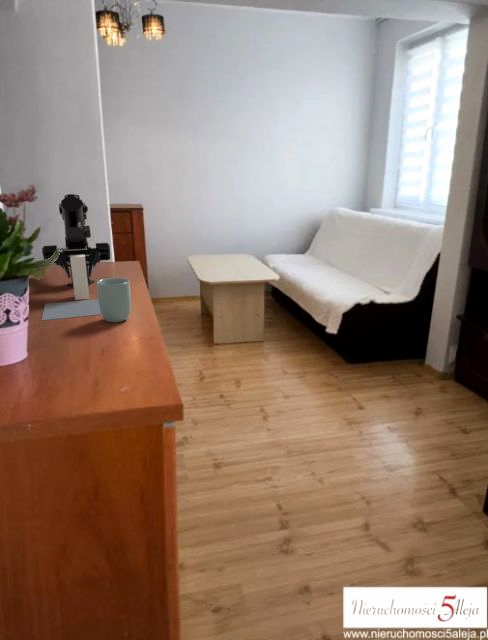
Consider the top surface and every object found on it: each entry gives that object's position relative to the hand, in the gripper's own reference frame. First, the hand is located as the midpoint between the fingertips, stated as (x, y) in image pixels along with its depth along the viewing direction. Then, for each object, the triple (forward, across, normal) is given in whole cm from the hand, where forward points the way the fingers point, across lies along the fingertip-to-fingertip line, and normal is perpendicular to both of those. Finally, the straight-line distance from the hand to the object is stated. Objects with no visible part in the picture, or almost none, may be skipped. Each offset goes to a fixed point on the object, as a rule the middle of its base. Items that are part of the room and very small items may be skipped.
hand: (79, 276), depth 133 cm
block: (+4, 0, +6) cm, 7 cm away
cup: (+22, +8, -12) cm, 27 cm away
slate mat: (+12, 0, -3) cm, 13 cm away
